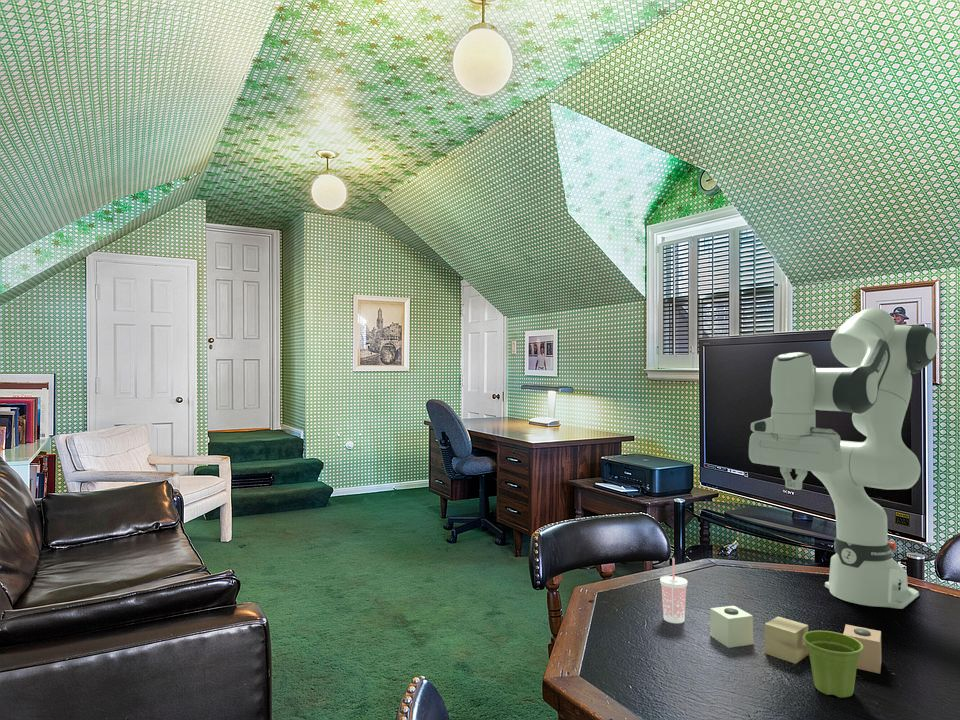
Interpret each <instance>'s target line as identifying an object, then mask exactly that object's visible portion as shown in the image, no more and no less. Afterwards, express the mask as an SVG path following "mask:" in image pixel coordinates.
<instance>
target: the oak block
mask: <svg viewBox="0 0 960 720" xmlns="http://www.w3.org/2000/svg"><path fill="white" fill-rule="evenodd" d="M807 632H809V624H805V623H803V622H798V621H795V620H792V619H788V618H785V617H781V616H776V617H774V618H772V619H771V620H769V621H768V622H765V623H764V654H766V655H769V656H771V657H774V658H777V659H780V660H784V661H786V662H789V663H793V664H795V665H796V664H797V663H799V662H800V661H802V660H803V659H805V658H806V657H807V656H808V657H809V651H808V649H807V646H806V642H805V641H804V640H803V635H804V634H805V633H807Z"/></svg>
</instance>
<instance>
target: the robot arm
mask: <svg viewBox="0 0 960 720" xmlns="http://www.w3.org/2000/svg"><path fill="white" fill-rule="evenodd" d="M830 348H831V351H832V354H833V356H834V357H835V358H836V360H838V362H840V363H841V364H843V365H844V366H846V367H817V366H815V365H814V363H813V357H812V355H811V354H810V353H808V352H801V351H800V352H799V351H798V352H788V353H782V354H779V355H777V356H775V357H774V359H773V361H772V367H771V375H770V395H771V397H772V406H771V409H770V417H767V418H763V419H760V420H756V421H753V422H751V423H750V431H752V433H751V435H750V436H749V440H748V441H749V442H748V458H749V460H750V462H751V463H753V464H759V465H765V466H771V467H772V466H773V467H779V472H780V474H781V476H782V478H783V479H784V482H785V483H784V486H785V488H786V489H790V490H796V491H802V489H803V481H804V480H805V478H806V477H807V475H808V472H811V473H812V474H813V476H815V477H816V478H817V479H818V480H819V481H820V482H821V483H822V484H823V485H824V487H825V489H827V491H828V493H829V496H830V498H831V500H832V502H833V505H834V511H835V512H834V513H835V524H836V525H835V526H836V536H835V538H834V542H833V546H834V552H835V554H833V555H831V557H830V563H829V564H830V565H829V574H828V575H829V577H828V581H825V582H824V587H825V588H827V589H828V590H829V592H830V594H831V595H832V596H833V597H835V598H838V599H840V600H842V601H845V602H848V603H853V604H857V605H860V606H868V607H880V608H890V609H899V610H900V609H901V610H903V609H905V607H907V606H908V605H909V604H911V603H912V602H913V601H914V600H915V599H917V598H918V597H919V596H920V591H918V590H916V588H913V587H910V586H908V583H909V582H908V574H907V571H906V569H904V568H903V567H902V566H901V565H900V564H899V563H898V562H896V560H895V559H893V554H892V551H897V548H898V547H897V543H896V542H894V541H889V540H888V516H887V513H886V510H885V509H884V508H883V507H882V506H881V505H880V504H879V503H877V502H876V501H874V500H873V499H871V498H870V497H869V495H868V494H867V493H866V490H865V487H867V488H874V489H879V490H880V489H881V490H892V491H893V490H908V489H911V488H912V487H913V486H914V485H915V484H917V482H918V481H919V479H920V476H921V463H920V461H919V459H918V456H917V455H916V454H915V452H913V451H912V450H911V449H910V448H908V447H907V445H906V444H905V443H904V441H903V438H902V428H903V423H904V421H905V420H904V419H905V417H906V413H907V410H908V407H909V403H910V400H911V397H912V396H911V394H912V390H913V376H912V374H913V375H916V374H919V373H920V372H921V371H922V369H923V368H924V369H925V367H928V365H930V364H931V363H932V361H933V360H934V359H935V357H936V354H937V351H938V339H937V336H936V334H935V332H934V330H932V328H930V327H928V326H923V325H917V324H913V325H907V324H895V319H894V318H893V316H892V315H891V314H890V313H889V312H887V311H886V310H884V309H882V308H878V307H877V308H876V307H871V308H866V309H865V308H864V309H863V310H861V311H858V312H856V313H855V314H853V315H852V316H851V317H849V318H847V320H845V321H844V322H843V323H842V324H841V325H840V326H839V327H838V328H837V329H836V330H835V332H834V333H833V335H832V337H831V340H830ZM816 410H818V411H829V412H844V413H850V414H852V415H851V421H852V424H853V427H854V428H855V429H856V430H857V431H858V432H859V433H861V434H862V435H863V436H865V437H866V439H865V440H864V441H850V440H841V436H840V434H839V433H838V432H837V431H835V430H834V429H831V428H822V427H816V425H817V424H816V421H817V420H816ZM793 469H794V471H795V475H797V476H796V477H795V479H793V477H792V476H791V472H792V470H793Z"/></svg>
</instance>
